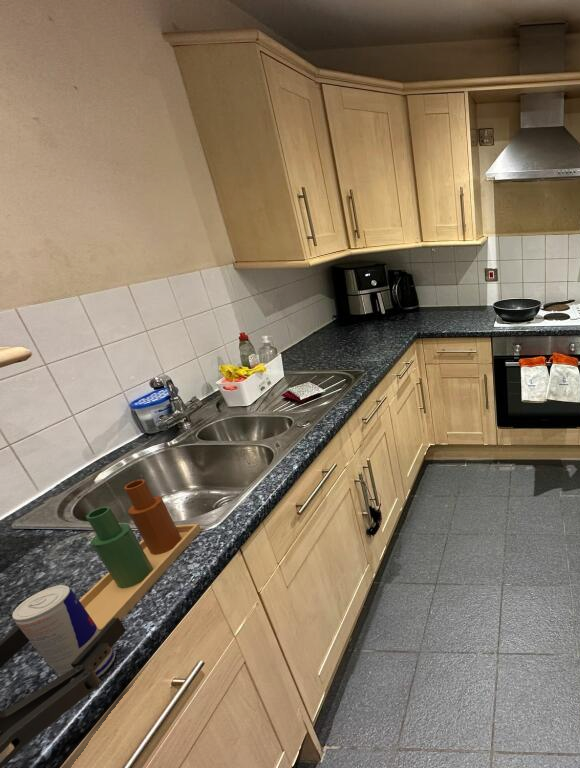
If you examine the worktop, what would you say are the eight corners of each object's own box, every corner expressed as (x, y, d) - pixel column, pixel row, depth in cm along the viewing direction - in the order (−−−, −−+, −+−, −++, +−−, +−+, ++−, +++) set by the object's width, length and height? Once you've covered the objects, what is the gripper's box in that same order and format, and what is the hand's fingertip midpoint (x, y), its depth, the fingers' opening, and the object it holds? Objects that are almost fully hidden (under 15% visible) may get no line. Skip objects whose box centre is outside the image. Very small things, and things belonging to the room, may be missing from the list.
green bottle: (111, 591, 75) (68, 524, 69) (133, 568, 80) (96, 503, 73) (140, 588, 75) (100, 521, 69) (160, 566, 80) (125, 501, 73)
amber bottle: (144, 557, 82) (109, 493, 76) (163, 538, 87) (131, 477, 81) (170, 555, 82) (137, 491, 76) (188, 536, 87) (158, 475, 81)
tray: (49, 642, 66) (42, 634, 65) (159, 534, 88) (155, 527, 87) (106, 637, 66) (101, 629, 66) (202, 530, 89) (198, 523, 88)
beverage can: (117, 669, 61) (68, 599, 55) (65, 699, 58) (7, 628, 52) (116, 644, 65) (70, 576, 59) (67, 670, 62) (13, 601, 56)
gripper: (-236, 864, 41) (-2, 653, 60) (19, 838, 41) (169, 637, 61) (-300, 828, 38) (-32, 618, 57) (-24, 801, 38) (148, 602, 58)
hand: (72, 628), depth 59 cm, fingers open, 13 cm apart
